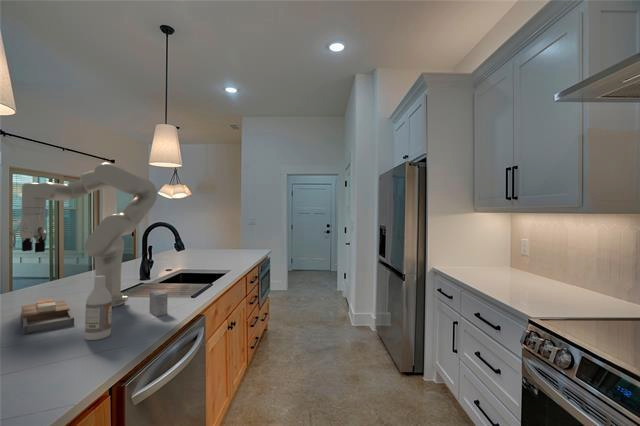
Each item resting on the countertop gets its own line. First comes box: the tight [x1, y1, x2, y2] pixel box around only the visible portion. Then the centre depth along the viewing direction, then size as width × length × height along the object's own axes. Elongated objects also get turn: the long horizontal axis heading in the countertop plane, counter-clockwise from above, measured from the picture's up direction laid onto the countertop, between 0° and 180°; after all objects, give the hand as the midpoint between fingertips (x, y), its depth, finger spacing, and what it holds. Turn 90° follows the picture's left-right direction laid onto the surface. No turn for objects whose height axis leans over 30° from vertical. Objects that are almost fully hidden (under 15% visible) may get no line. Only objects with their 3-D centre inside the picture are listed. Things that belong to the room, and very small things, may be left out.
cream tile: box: [37, 302, 56, 313], centre depth 117 cm, size 5×5×2 cm
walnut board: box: [21, 299, 71, 324], centre depth 119 cm, size 16×13×3 cm
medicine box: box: [148, 289, 169, 317], centre depth 125 cm, size 8×4×9 cm, turn 47°
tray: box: [22, 310, 75, 335], centre depth 109 cm, size 12×13×2 cm
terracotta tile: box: [35, 298, 55, 307], centre depth 121 cm, size 5×5×2 cm
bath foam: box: [84, 275, 113, 341], centre depth 100 cm, size 7×7×20 cm
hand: (33, 251), depth 130 cm, fingers open, 9 cm apart
